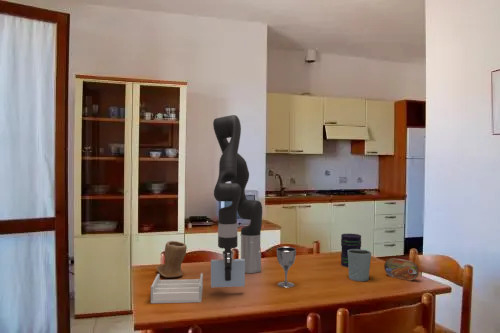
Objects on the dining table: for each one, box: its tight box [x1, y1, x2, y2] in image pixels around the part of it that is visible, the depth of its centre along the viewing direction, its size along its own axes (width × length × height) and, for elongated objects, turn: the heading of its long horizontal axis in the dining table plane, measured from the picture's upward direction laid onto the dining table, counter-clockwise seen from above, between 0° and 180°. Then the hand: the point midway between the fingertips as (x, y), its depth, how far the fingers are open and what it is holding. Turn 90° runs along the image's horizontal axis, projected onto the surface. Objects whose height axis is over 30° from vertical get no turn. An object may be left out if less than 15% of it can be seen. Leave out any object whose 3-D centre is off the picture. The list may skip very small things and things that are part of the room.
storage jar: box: [340, 233, 362, 268], centre depth 195 cm, size 10×10×15 cm
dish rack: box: [150, 272, 204, 304], centre depth 150 cm, size 18×16×6 cm
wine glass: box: [276, 246, 297, 288], centre depth 163 cm, size 8×8×15 cm
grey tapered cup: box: [347, 249, 372, 282], centre depth 173 cm, size 10×10×12 cm
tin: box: [383, 257, 420, 282], centre depth 174 cm, size 15×3×8 cm, turn 45°
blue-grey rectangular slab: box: [210, 258, 246, 288], centre depth 151 cm, size 13×2×10 cm, turn 95°
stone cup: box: [155, 240, 187, 278], centre depth 177 cm, size 15×12×15 cm
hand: (227, 279), depth 151 cm, fingers closed on blue-grey rectangular slab, 2 cm apart
